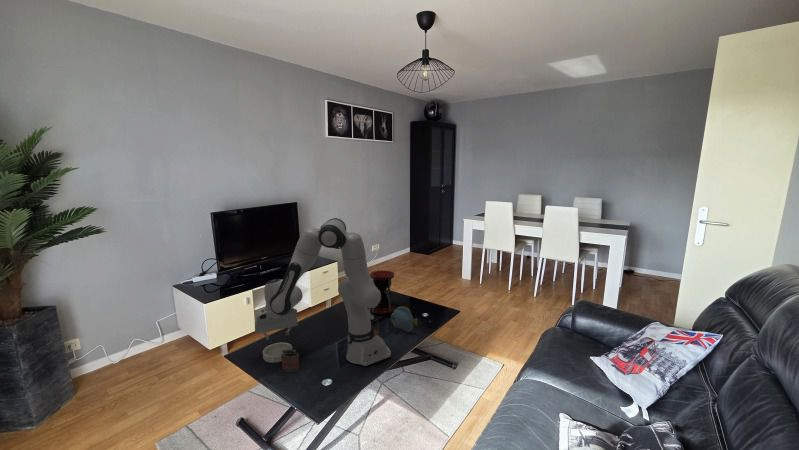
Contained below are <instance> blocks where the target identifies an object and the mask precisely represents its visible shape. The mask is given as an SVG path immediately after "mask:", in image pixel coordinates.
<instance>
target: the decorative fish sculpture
mask: <svg viewBox="0 0 799 450" xmlns="http://www.w3.org/2000/svg"><path fill="white" fill-rule="evenodd" d="M390 316H391V317H390V318H389V319H388V320H389V321H390V323H391V324H393V326H394V327H395V326H396V327H397V328H399V329H401V330H402V331H404V332H408V333H409V332H412V330H413V328H414V325H415V326H416V327H418V318H414V317H413V315H412V312H411V310H410V309H409V308H408V307H407V306H398V307H396V308H395V309H394V311H393V312H391V315H390Z"/></svg>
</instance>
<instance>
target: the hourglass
mask: <svg viewBox="0 0 799 450" xmlns="http://www.w3.org/2000/svg"><path fill="white" fill-rule="evenodd" d="M369 274H370V276H371V279H372V281H373V283H374V284H375V286H376V287H377V288H378V290H379V291H380V293H381V300H380V302H379V304H378V305H377V306H376V307H374V308H370V312H372V313H373V314H375V313H376V314H375V315H388V313H389V314H392V313H393V312H394V310H395V309H396V308H395V305H394V304H393V303H392V292H391V286H392V279H394V278H395V273H394V272H393V271H391V270H375V271H372V272H369ZM385 291H386V292H385ZM392 311H393V312H392Z"/></svg>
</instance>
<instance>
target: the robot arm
mask: <svg viewBox="0 0 799 450" xmlns="http://www.w3.org/2000/svg"><path fill="white" fill-rule="evenodd" d="M346 225H347V224H346V223H345V222H344V221H343V220H342V219H341V218H337V217H333V218H330V219H328V220H327V221H326V222H325V223H323V224H322V225H321V226H320V227H319V228H316V227H313V226H312V227H307V228H305V229H304V230H303V231H302V233H301V235H300V236H299V239H298V240H297V243H296V245H295V248H294V251H293V253H292V256H291V259H290V262H289V264H288V267H287V268H286V271H285V273H284V276H283V278H282V279H281V278H275V279H271V280H269V281H267V282H266V283H265V285H264V291H263V292H264V301H265V307H263V308H262V309H260V310H257V312H256V315H255V317H256V318H255V321H254V332H255V334H263V336H264V337H265V340H266V341H267V340H270V335H269V334H267V332H273V331H277V330H282V329H287V330H286V331H285V336H290V331H291V329H292V327H297V326H298V323H299V322H298V317H297V316H298V310H297V308H295V306H297V305H298V304H299V303H300V302H302V300H303V296H304V295H303V292H302V289H301V288H300V287H299V286H297V283H298V281H299V280H300V278H301V277H302V276H303V275H304V274H305V273H306V272H308V271H309V270H310V269H311V268H312V267H313V266H314V265H315V263H316V262H317V259H318V258H319V255H320V251H321V249H322V247H324V248H326V249H327V248H328V249H335V250H336V249H337V250H340V251H341V257H342V265H343V272H344V274H345V276H346V277H347V278H345V279H343V280H341V281H340V283H339V284H338V287H337V291H338V294H339V296H340V297H341V299H342V302H343V304H344V306H345V310H346V313H347V325H348V330H347V342H348V345H347V352H346V356H345V358H346V360H347V361H348V362H350V363H351V364H355V365H361V366H363V367H366V366H369V365H372V364H374V363H377V362H380V361H383V360H385V359H388V358H391V356H392V353H391V349H390V348H389V347H388V345H386V342H385V340H384V339H383V338H382V337H381V336H379V335H378V334H379V332H378V331H377V330H376V329H375V328H373V327H372V323H371V322H372V321H371V315H372V314H371V315H370V313H371V311H370V312H369V311H368V309H371V308H374V307H376V306H377V305H378V304H379V302H380V300H381V293H380V292H381V291H379V290H378V288H377V287H376V286H375V284H374V283H373V279H372V278H371V276H370V272H369V268H368V264H367V263H368V261H367V255H366V250H365V245H364V241H363V238H362V236H361V235H360V234H359V233H357V232H348V231H347V226H346Z"/></svg>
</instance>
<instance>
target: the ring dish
mask: <svg viewBox="0 0 799 450" xmlns="http://www.w3.org/2000/svg"><path fill="white" fill-rule="evenodd" d="M290 349H292V350H293V346H292V344H291V343H288V342H276V343H275V342H274V343H272V344H270V345H267V346H265V348H264V349H263V350H262V360H263V361H264V362H266V363H271V364H273V363H274V364H275V363H280V362H281V363H282V358H281V355H282V354H285V353H283V352H282V351H283V350H290Z"/></svg>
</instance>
